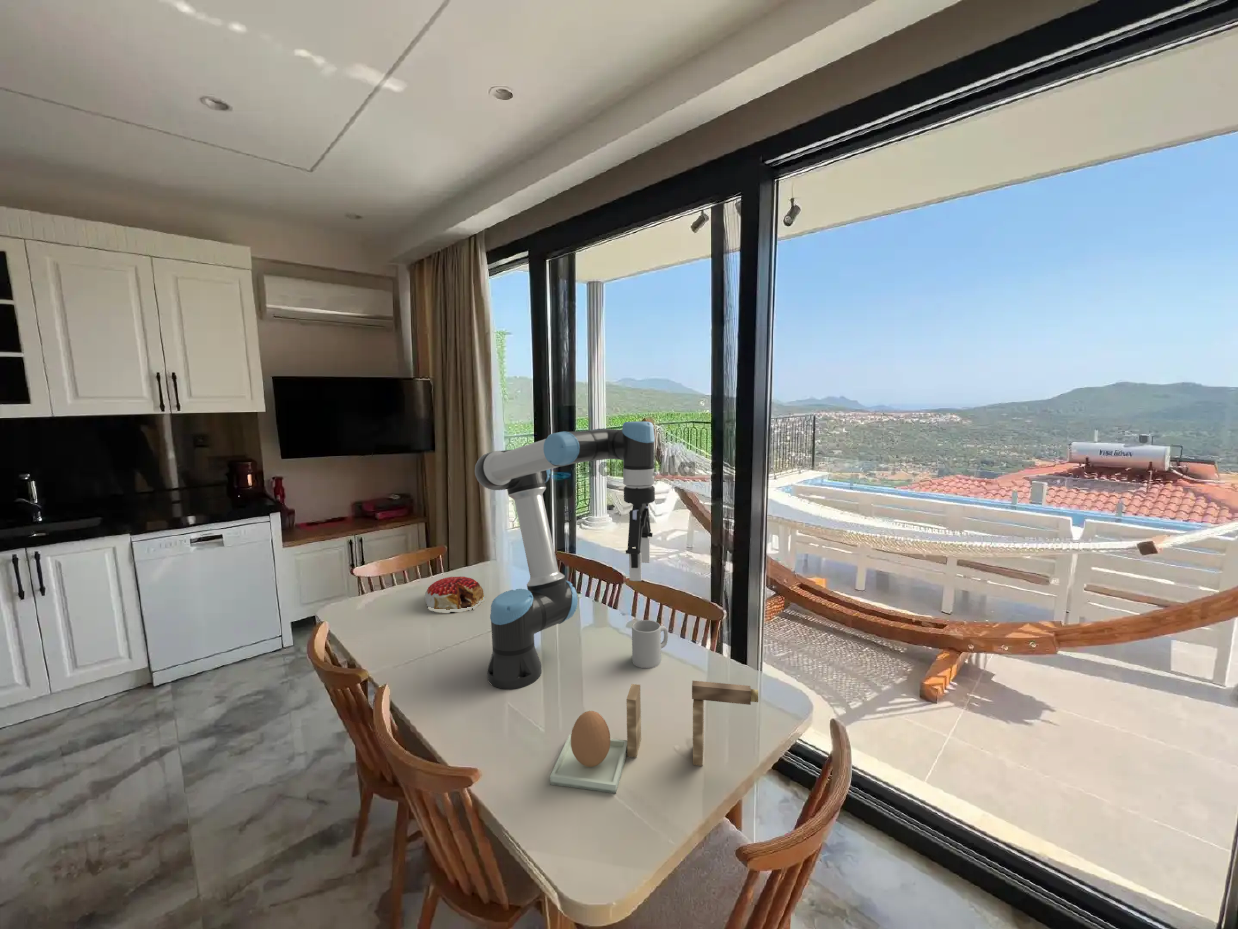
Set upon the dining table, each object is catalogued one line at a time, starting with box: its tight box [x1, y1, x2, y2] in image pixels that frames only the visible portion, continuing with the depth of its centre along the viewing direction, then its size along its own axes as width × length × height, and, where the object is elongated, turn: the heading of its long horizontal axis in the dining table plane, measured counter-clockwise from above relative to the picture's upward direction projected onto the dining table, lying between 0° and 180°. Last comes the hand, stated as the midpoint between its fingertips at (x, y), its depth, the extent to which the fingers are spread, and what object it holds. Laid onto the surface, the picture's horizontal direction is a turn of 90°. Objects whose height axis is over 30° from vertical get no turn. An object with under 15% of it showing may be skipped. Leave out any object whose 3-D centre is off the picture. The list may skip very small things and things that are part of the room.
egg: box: [570, 710, 611, 767], centre depth 106 cm, size 8×8×11 cm
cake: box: [424, 576, 485, 610], centre depth 196 cm, size 23×24×10 cm
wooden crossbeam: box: [691, 680, 759, 706], centre depth 106 cm, size 14×2×3 cm, turn 78°
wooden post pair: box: [626, 683, 705, 767], centre depth 109 cm, size 16×6×13 cm, turn 78°
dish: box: [549, 733, 627, 794], centre depth 106 cm, size 13×13×2 cm
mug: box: [631, 619, 669, 669], centre depth 150 cm, size 12×8×11 cm
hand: (640, 571), depth 124 cm, fingers open, 13 cm apart
